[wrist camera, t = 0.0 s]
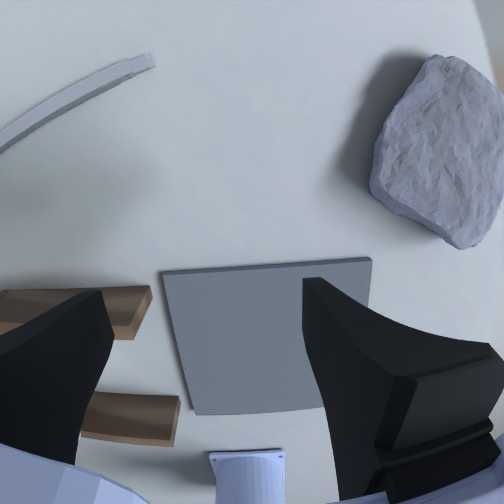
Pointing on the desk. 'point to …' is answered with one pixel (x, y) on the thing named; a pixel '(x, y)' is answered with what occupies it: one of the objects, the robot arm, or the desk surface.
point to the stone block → (444, 152)
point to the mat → (252, 333)
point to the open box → (103, 404)
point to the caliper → (73, 97)
